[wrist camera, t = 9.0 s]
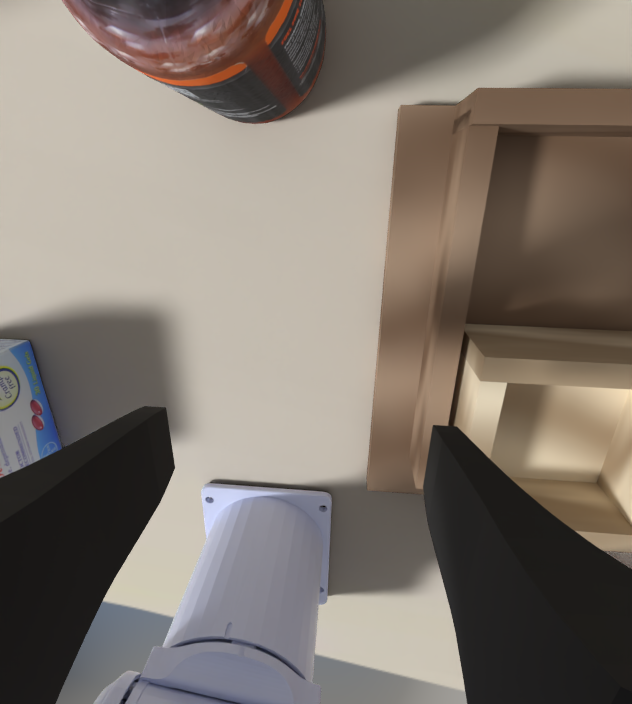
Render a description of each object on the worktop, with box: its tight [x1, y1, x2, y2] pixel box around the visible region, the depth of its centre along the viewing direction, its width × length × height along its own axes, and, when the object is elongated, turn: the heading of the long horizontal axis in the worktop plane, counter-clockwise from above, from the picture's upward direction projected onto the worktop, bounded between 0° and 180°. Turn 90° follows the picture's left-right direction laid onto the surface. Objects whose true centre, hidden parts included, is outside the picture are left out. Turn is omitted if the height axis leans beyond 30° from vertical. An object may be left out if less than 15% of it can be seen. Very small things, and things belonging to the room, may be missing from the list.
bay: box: [367, 88, 632, 494], centre depth 18 cm, size 19×16×4 cm
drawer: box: [448, 324, 632, 553], centre depth 17 cm, size 12×9×8 cm
